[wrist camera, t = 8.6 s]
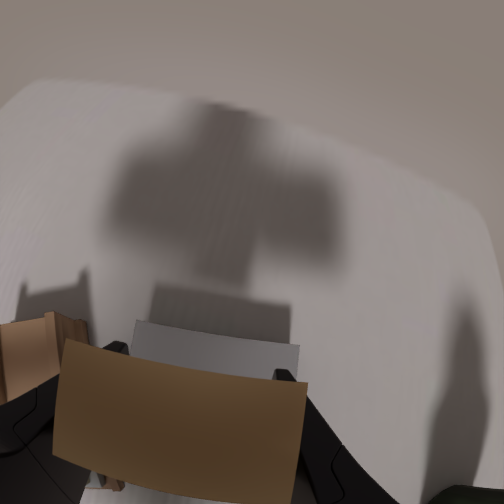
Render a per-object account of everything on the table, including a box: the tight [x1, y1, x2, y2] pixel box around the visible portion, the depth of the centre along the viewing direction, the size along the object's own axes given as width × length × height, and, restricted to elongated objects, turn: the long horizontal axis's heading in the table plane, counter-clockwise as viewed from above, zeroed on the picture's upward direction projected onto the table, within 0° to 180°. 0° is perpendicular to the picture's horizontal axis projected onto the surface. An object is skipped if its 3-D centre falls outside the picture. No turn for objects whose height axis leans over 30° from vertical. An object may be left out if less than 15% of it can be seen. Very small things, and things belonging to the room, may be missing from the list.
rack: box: [0, 311, 124, 491], centre depth 15 cm, size 13×8×4 cm, turn 15°
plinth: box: [130, 320, 300, 380], centre depth 18 cm, size 7×10×3 cm
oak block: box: [52, 338, 308, 504], centre depth 8 cm, size 2×5×8 cm, turn 83°
